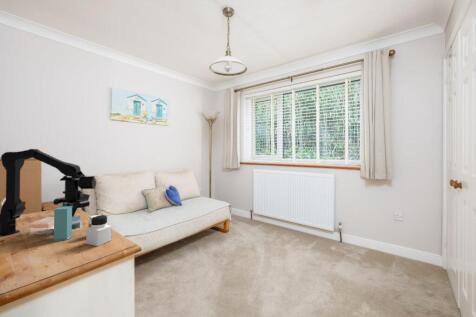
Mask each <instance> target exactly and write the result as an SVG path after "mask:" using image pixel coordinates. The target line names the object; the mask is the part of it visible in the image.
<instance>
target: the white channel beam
mask: <svg viewBox="0 0 476 317" xmlns="http://www.w3.org/2000/svg"><path fill="white" fill-rule="evenodd" d="M81 229H83V221H82V222H79V223H75V224H72V232H75V231H77V230H78V231H79V230H81Z"/></svg>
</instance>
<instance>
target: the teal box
mask: <svg viewBox="0 0 476 317" xmlns="http://www.w3.org/2000/svg"><path fill="white" fill-rule="evenodd" d="M53 222H54V230H53V239H54V240H58V239H67V238H69V237H70V236H71V235H72V236H73V233H72V232H73V231H72V206H64V207H61V206H58V207H56V208H54V210H53ZM54 240H53V241H54Z"/></svg>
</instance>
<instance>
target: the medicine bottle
mask: <svg viewBox="0 0 476 317" xmlns="http://www.w3.org/2000/svg"><path fill="white" fill-rule="evenodd" d="M97 215H98V216H94V217H92V219H91V226H92V227H89V228H88V227H87V228H85V229H86V231H85V232H86V233H85V236H86V237H85V244H86V245H90V246H94V247H100V246H102V245H104V243H105V244H106V243H109V242H111V241H112V233H113V232H112V230H113V229H112V228H113V227H112V225H109V224H108V216H107V215H104V214H97Z"/></svg>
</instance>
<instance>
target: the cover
mask: <svg viewBox="0 0 476 317" xmlns="http://www.w3.org/2000/svg"><path fill="white" fill-rule="evenodd" d="M79 222H82V223H83V220H82V219H81V215H80V214H79V215H74V216H73V217H72V224H75V223H79Z"/></svg>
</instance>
